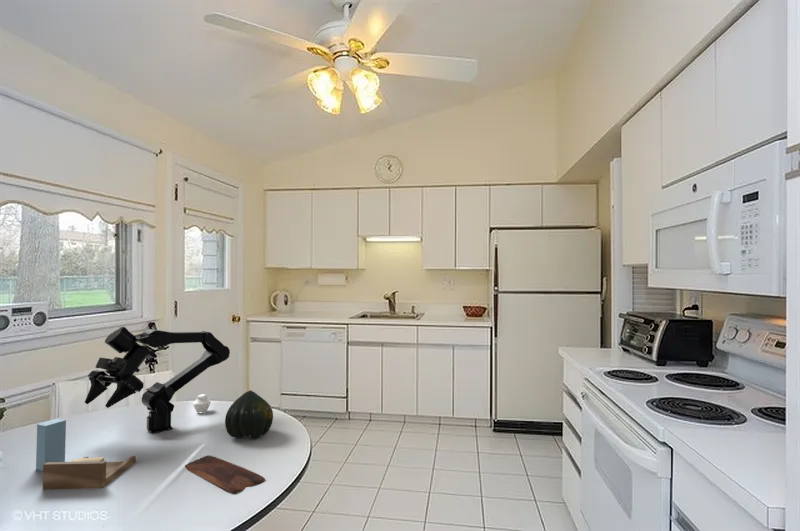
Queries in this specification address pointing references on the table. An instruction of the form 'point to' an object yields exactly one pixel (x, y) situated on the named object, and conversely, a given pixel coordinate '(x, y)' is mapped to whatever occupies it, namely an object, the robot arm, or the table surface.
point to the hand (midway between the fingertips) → (96, 405)
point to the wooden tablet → (224, 474)
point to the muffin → (201, 403)
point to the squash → (249, 416)
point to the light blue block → (50, 442)
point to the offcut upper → (88, 459)
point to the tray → (82, 473)
